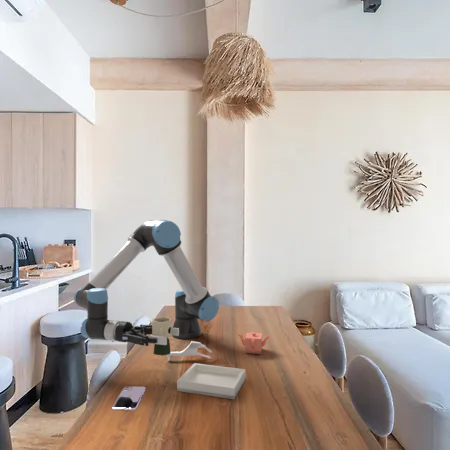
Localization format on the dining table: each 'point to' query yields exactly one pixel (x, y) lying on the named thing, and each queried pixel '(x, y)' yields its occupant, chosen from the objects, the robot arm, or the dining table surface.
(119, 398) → the mobile phone
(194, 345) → the white flat pronged piece
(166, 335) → the character mug
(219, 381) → the tray
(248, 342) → the teapot
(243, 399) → the dining table surface
